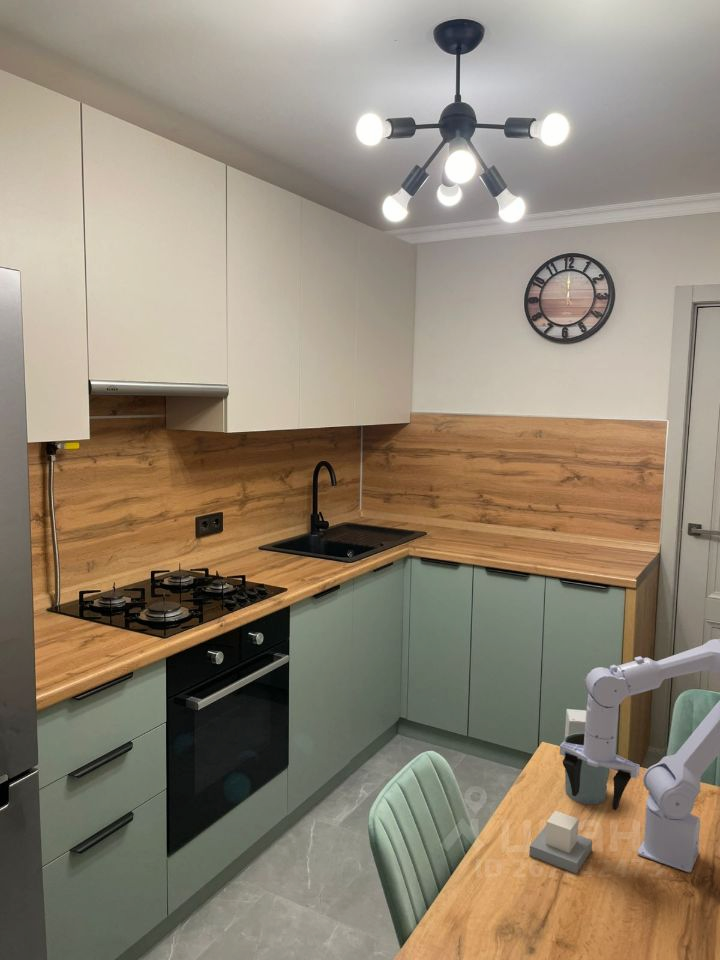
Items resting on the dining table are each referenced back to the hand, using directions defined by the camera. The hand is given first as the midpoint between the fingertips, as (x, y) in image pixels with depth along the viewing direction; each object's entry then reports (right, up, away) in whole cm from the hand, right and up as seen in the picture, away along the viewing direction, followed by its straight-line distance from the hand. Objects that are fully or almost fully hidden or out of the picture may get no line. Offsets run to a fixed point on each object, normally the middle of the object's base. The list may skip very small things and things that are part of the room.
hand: (595, 800), depth 139 cm
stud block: (-7, -10, 0) cm, 12 cm away
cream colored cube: (-7, -8, 0) cm, 10 cm away
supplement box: (+7, -7, +34) cm, 35 cm away
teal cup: (+5, -8, +21) cm, 23 cm away
